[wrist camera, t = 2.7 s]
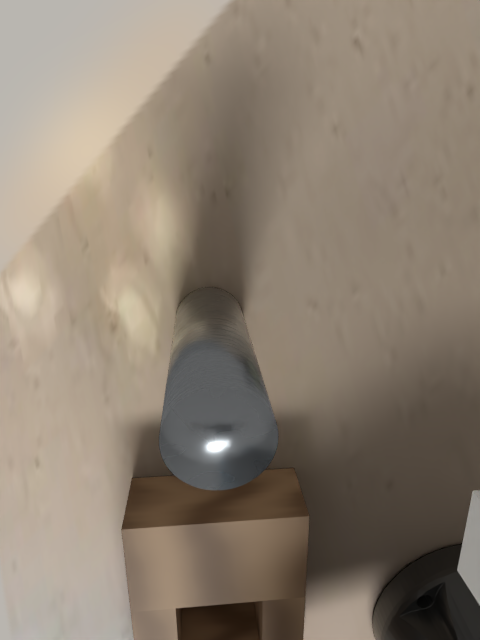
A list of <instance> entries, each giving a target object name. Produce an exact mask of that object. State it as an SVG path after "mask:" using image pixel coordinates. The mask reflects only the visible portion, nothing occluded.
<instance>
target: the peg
mask: <svg viewBox="0 0 480 640" xmlns="http://www.w3.org/2000/svg"><path fill="white" fill-rule="evenodd" d="M277 445H278V428H277V424H276V420H275V417H274V414H273V411H272V407H271V404H270V401H269V398H268V394H267V391H266V388H265V385H264V381H263V378H262V375H261V372H260V368H259V365H258V362H257V359H256V355H255V352H254V349H253V346H252V342H251V339H250V336H249V333H248V329H247V326H246V323H245V320H244V316H243V313H242V310H241V307H240V305H239V303H238V302H237V300H236V299H235V298H234V297H233V296H232V295H231V294H229V293H228V292H226V291H224V290H222V289H219V288H213V287H207V288H201V289H198V290H195V291H193V292H191V293H190V294H188V295H187V296H186V297H185V298H184V299H183V300H182V302H181V303H180V305H179V307H178V310H177V313H176V320H175V327H174V334H173V341H172V348H171V356H170V363H169V370H168V377H167V384H166V391H165V398H164V406H163V413H162V420H161V427H160V434H159V448H160V453H161V456H162V458H163V461H164V463H165V464H166V466H167V467H168V469H169V470H170V471H171V472H172V473H173V474H174V475H175V476H176V477H177V478H178V479H180V480H181V481H183V482H185V483H187V484H189V485H191V486H193V487H196V488H200V489H205V490H228V489H232V488H236V487H239V486H242V485H244V484H246V483H248V482H250V481H252V480H253V479H255V478H256V477H257V476H259V475H260V474H261V473H262V472H263V471H264V470H265V469H266V468H267V467H268V465H269V464H270V462H271V461H272V459H273V457H274V455H275V452H276V449H277Z"/></svg>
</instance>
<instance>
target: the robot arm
mask: <svg viewBox="0 0 480 640" xmlns="http://www.w3.org/2000/svg"><path fill="white" fill-rule="evenodd" d="M373 633H374V637H375V639H376V640H480V490H474V491H473V492H472V497H471V502H470V507H469V512H468V517H467V523H466V528H465V533H464V538H463V543H462V544H461V545H456V546H451V547H447V548H444V549H441V550H438V551H435V552H433V553H430V554H428V555H426V556H424V557H422V558H420V559H418V560H417V561H415V562H413V563H412V564H410V565H409V566H408V567H406V568H405V569H404V570H402V571H401V572H400V573H399V574H398V575H397V576H396V577H395V578H394V579H393V580H392V581H391V582H390V583H389V584H388V586H387V587H386V588H385V590H384V591H383V593H382V594H381V596H380V598H379V600H378V602H377V604H376V607H375V611H374V615H373Z"/></svg>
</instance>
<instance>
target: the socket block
mask: <svg viewBox="0 0 480 640" xmlns="http://www.w3.org/2000/svg"><path fill="white" fill-rule="evenodd" d="M121 530H122V539H123V548H124V557H125V565H126V574H127V583H128V592H129V600H130V609H131V618H132V627H133V636H134V640H303V632H304V613H305V593H306V574H307V554H308V535H309V513H308V510H307V507H306V504H305V501H304V498H303V494H302V491H301V488H300V485H299V482H298V479H297V476H296V473H295V469H294V468H286V469H270V470H264V471H263V472H262V473H261V474H260V475H259V476H257V477H256V478H255V479H253V480H252V481H250V482H248V483H246V484H244V485H242V486H239V487H236V488H232V489H228V490H205V489H200V488H196V487H193V486H191V485H189V484H187V483H185V482H183V481H181V480H180V479H178V478H177V477H176V476H159V477H143V478H132V481H131V486H130V491H129V496H128V500H127V505H126V510H125V515H124V520H123V525H122V529H121Z"/></svg>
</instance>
